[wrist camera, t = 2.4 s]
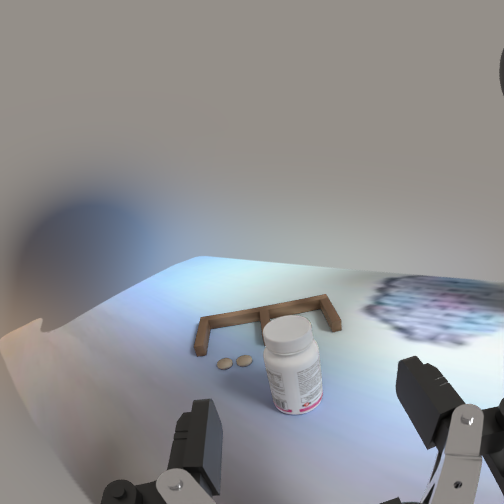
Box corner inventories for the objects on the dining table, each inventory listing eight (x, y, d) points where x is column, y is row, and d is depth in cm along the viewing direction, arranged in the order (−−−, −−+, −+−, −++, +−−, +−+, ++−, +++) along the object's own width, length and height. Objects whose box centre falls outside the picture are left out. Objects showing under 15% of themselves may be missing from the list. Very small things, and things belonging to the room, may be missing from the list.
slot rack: (326, 303, 44) (326, 294, 43) (349, 345, 33) (349, 334, 33) (203, 326, 44) (200, 317, 44) (193, 373, 34) (190, 363, 33)
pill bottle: (321, 379, 29) (315, 309, 26) (324, 413, 24) (318, 340, 22) (275, 384, 30) (261, 315, 27) (271, 418, 25) (254, 347, 23)
